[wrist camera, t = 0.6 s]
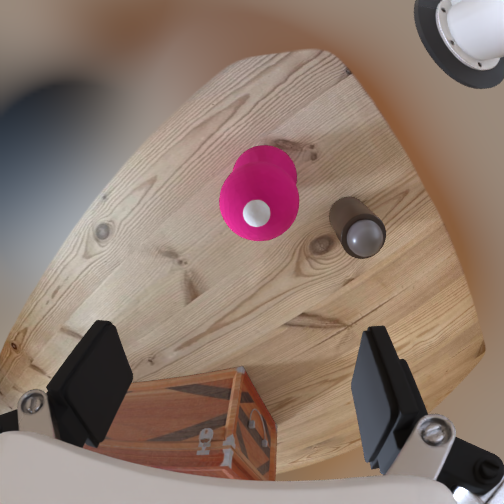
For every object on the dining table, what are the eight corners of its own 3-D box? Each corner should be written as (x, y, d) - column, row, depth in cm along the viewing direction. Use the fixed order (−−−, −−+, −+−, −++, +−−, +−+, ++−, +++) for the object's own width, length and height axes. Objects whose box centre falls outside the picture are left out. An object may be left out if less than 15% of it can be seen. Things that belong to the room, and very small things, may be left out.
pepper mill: (255, 209, 39) (236, 286, 21) (226, 161, 37) (177, 196, 19) (304, 183, 38) (332, 239, 19) (276, 133, 35) (278, 137, 17)
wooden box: (83, 385, 58) (46, 447, 40) (243, 364, 50) (229, 464, 32) (130, 436, 65) (107, 494, 47) (278, 426, 57) (276, 507, 39)
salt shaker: (327, 198, 38) (344, 223, 29) (365, 194, 37) (393, 217, 28) (330, 236, 40) (346, 270, 31) (367, 232, 39) (392, 264, 30)
